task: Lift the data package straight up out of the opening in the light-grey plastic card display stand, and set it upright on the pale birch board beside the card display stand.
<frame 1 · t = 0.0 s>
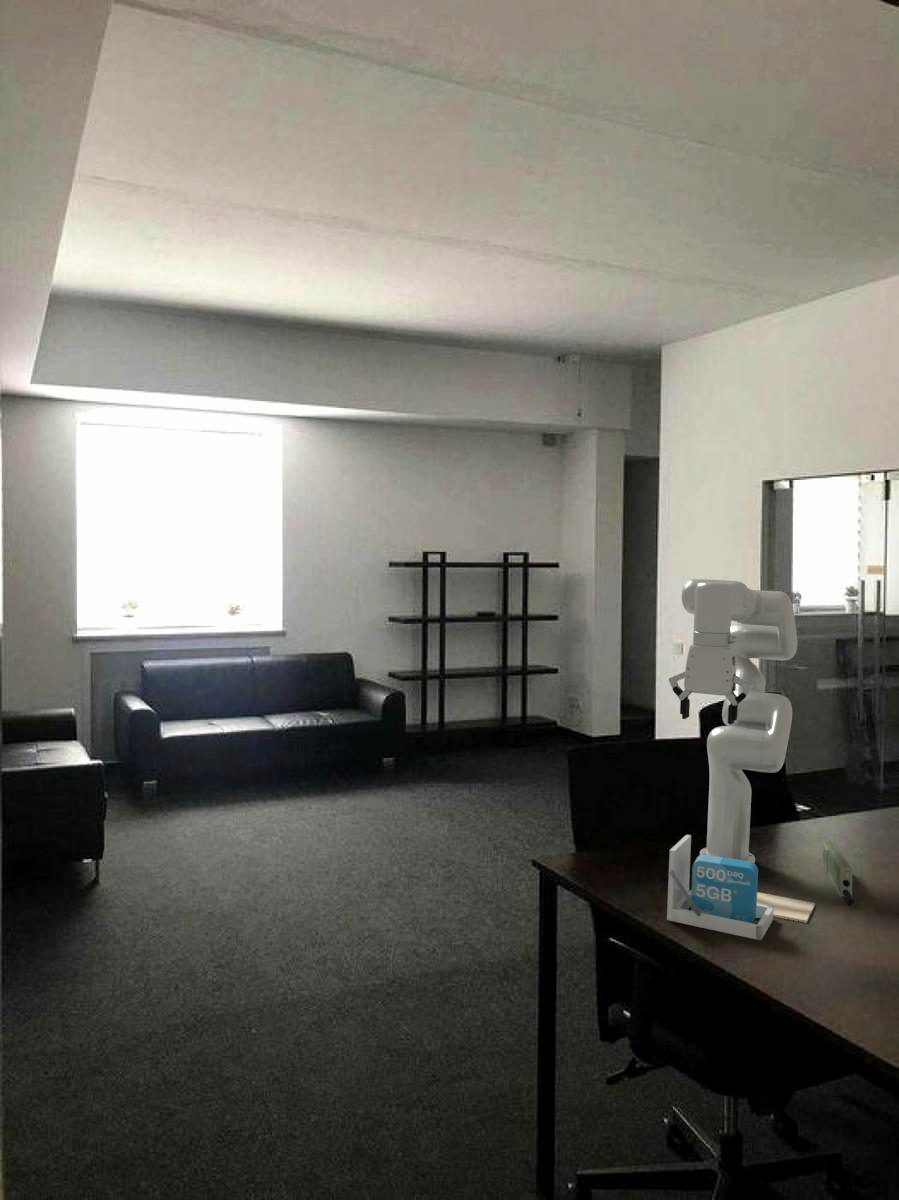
hand: (708, 720, 204), 37 cm above the table, tool pointing down, fingers open, 9 cm apart
card display stand: (722, 920, 190), on the table
birch board: (767, 905, 198), on the table
data package: (722, 921, 190), resting in card display stand
handheld radio: (839, 888, 211), on the table
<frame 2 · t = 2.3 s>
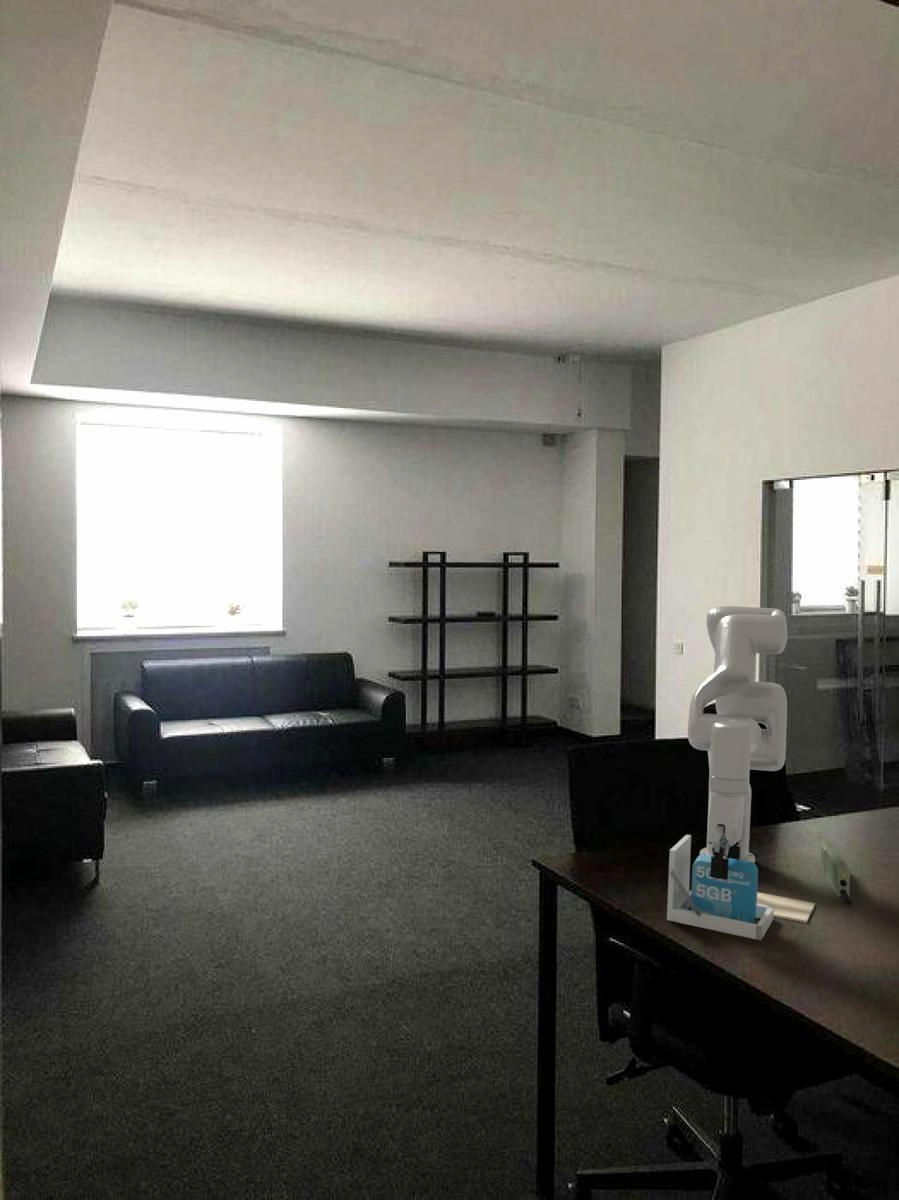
hand: (725, 871, 189), 10 cm above the table, tool pointing down, fingers open, 9 cm apart
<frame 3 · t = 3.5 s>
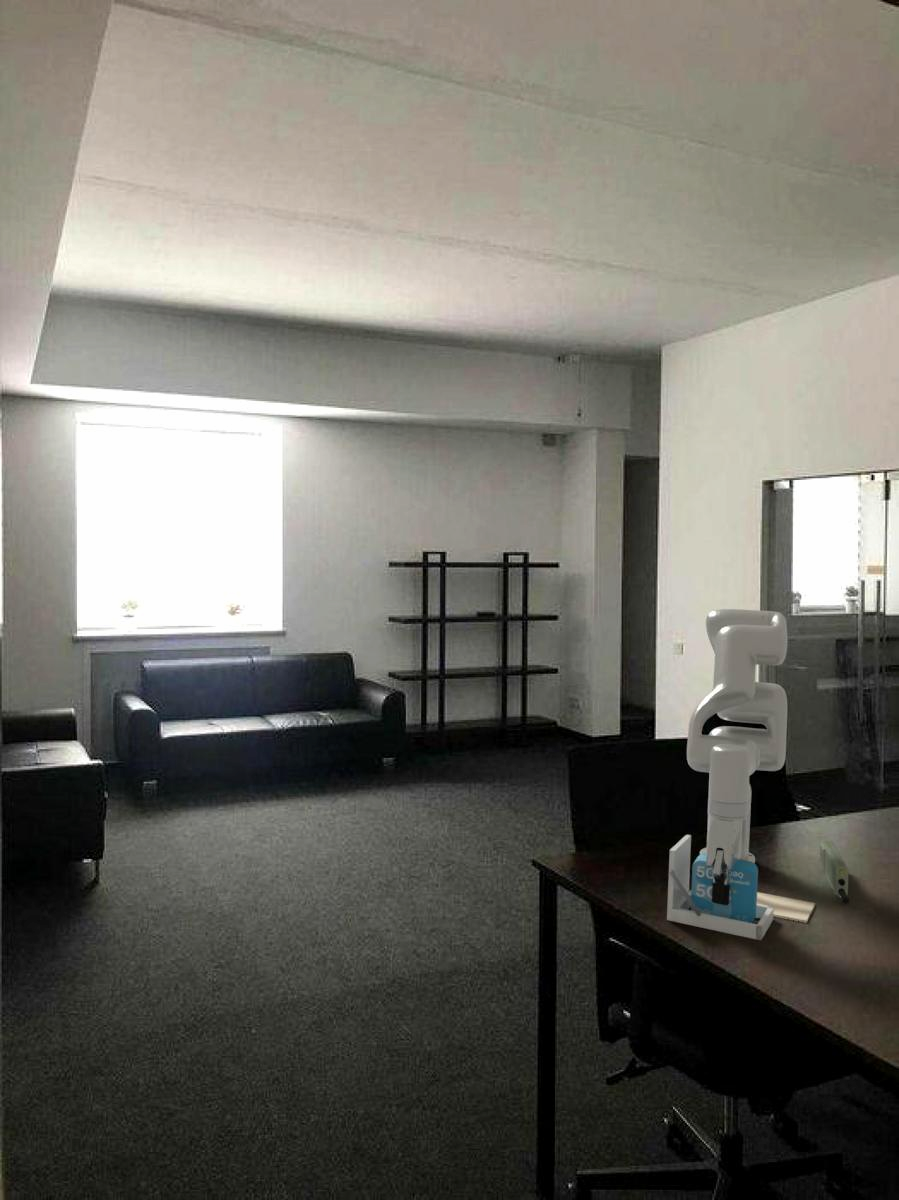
hand: (723, 898, 189), 4 cm above the table, tool pointing down, fingers closed on data package, 4 cm apart
data package: (722, 921, 190), resting in card display stand, touching gripper
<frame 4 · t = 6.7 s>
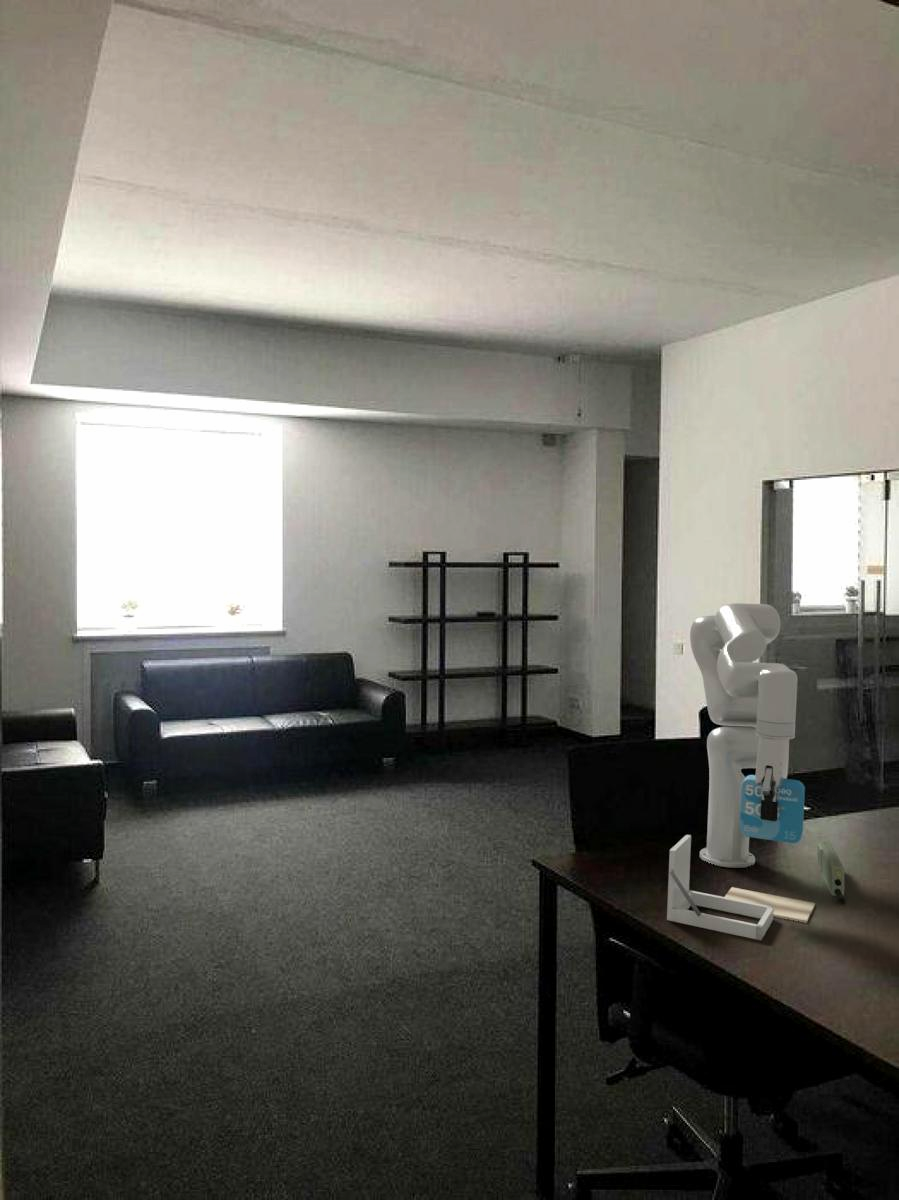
hand: (771, 815, 197), 19 cm above the table, tool pointing down, fingers closed on data package, 4 cm apart
data package: (770, 838, 197), point 14 cm above the table, touching gripper
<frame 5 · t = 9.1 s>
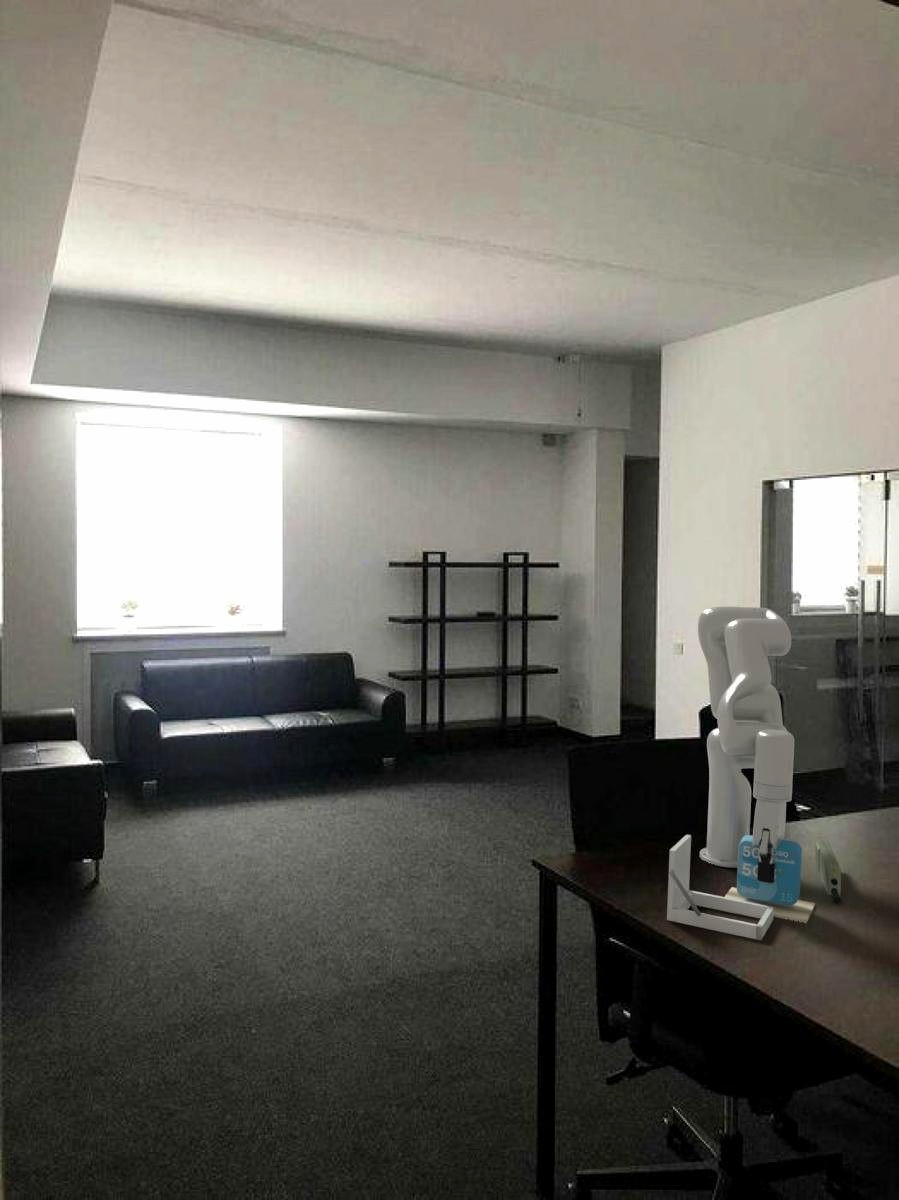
hand: (768, 876, 198), 6 cm above the table, tool pointing down, fingers closed on data package, 4 cm apart
data package: (767, 898, 198), point 1 cm above the table, touching gripper
when the fingers open (6 cm above the table, at t = 9.3 s): data package drops 1 cm, resting on birch board.
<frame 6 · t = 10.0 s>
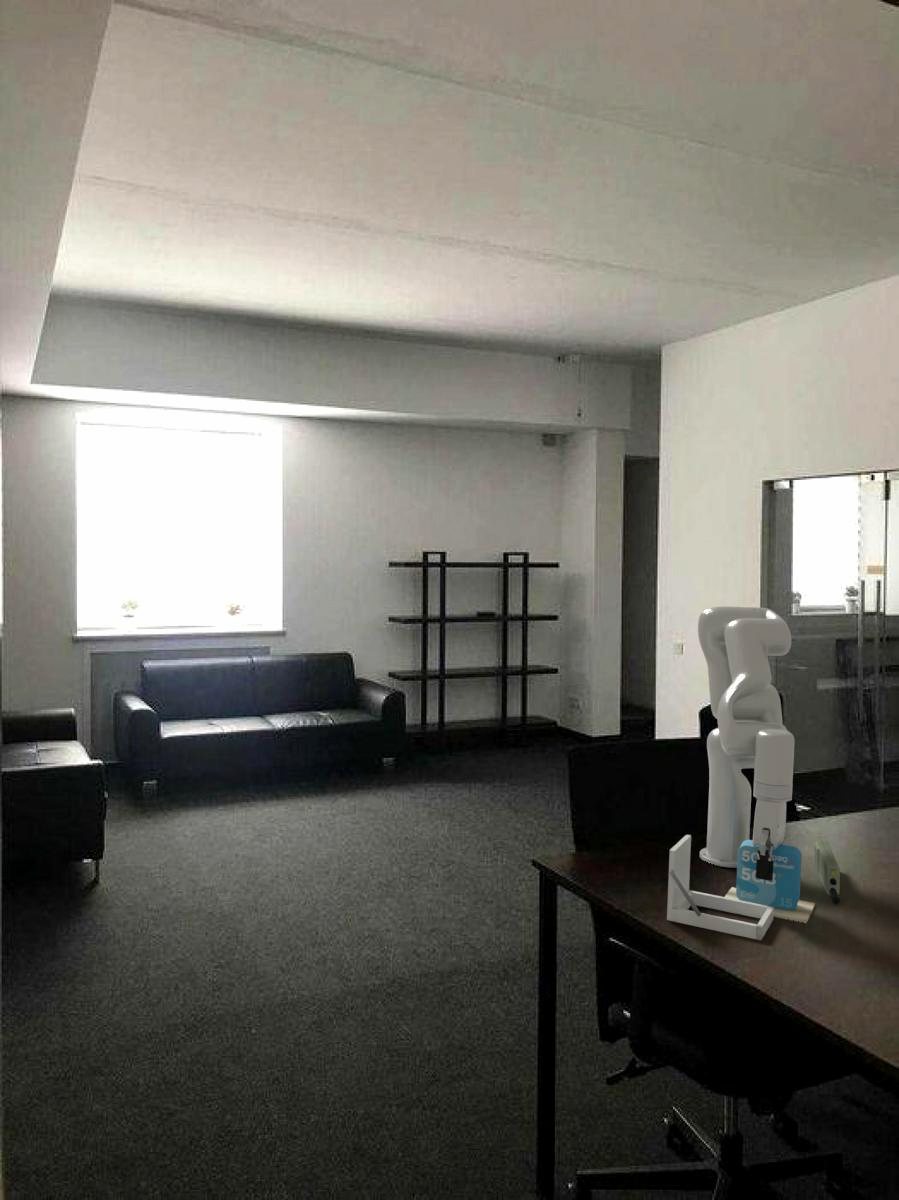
hand: (768, 872, 198), 7 cm above the table, tool pointing down, fingers open, 9 cm apart
data package: (767, 903, 198), resting on birch board
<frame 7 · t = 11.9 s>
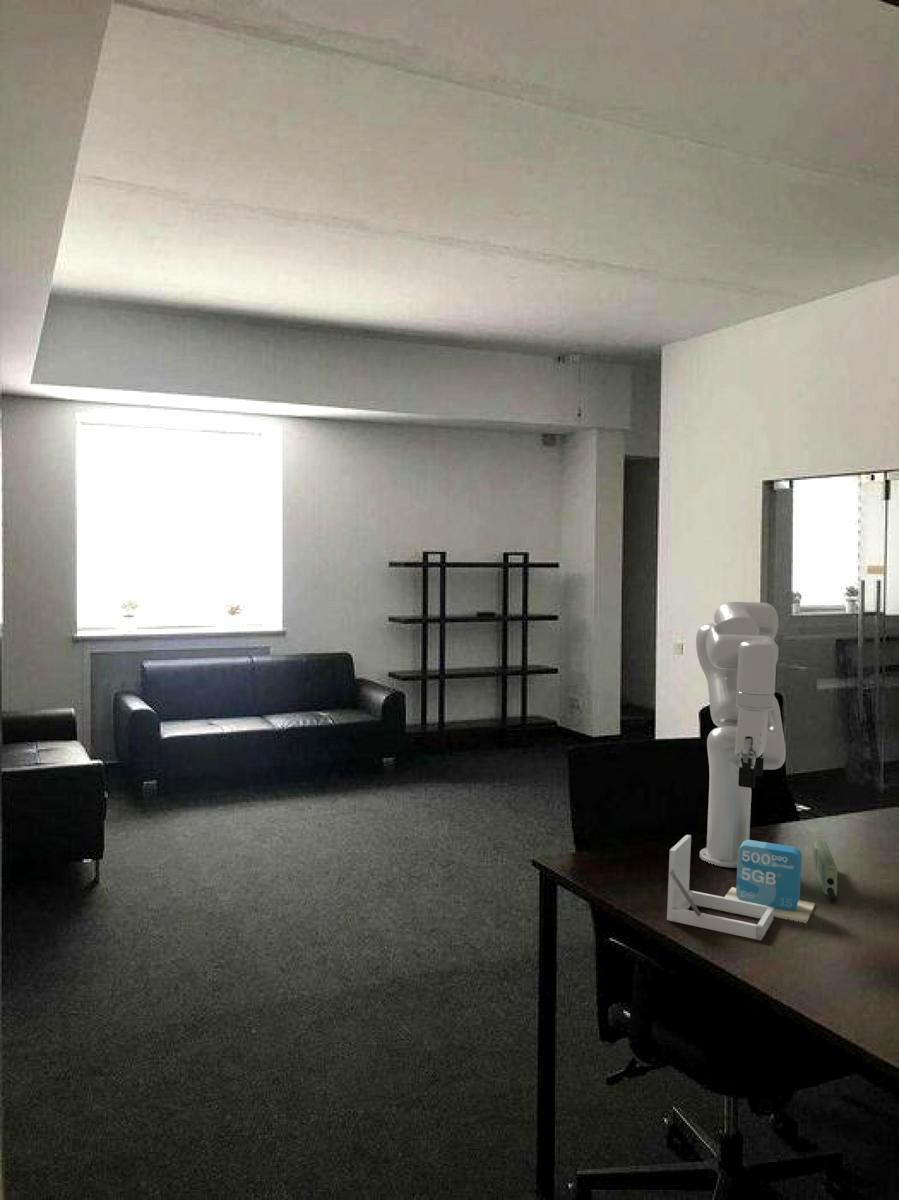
hand: (750, 781, 201), 25 cm above the table, tool pointing down, fingers open, 9 cm apart
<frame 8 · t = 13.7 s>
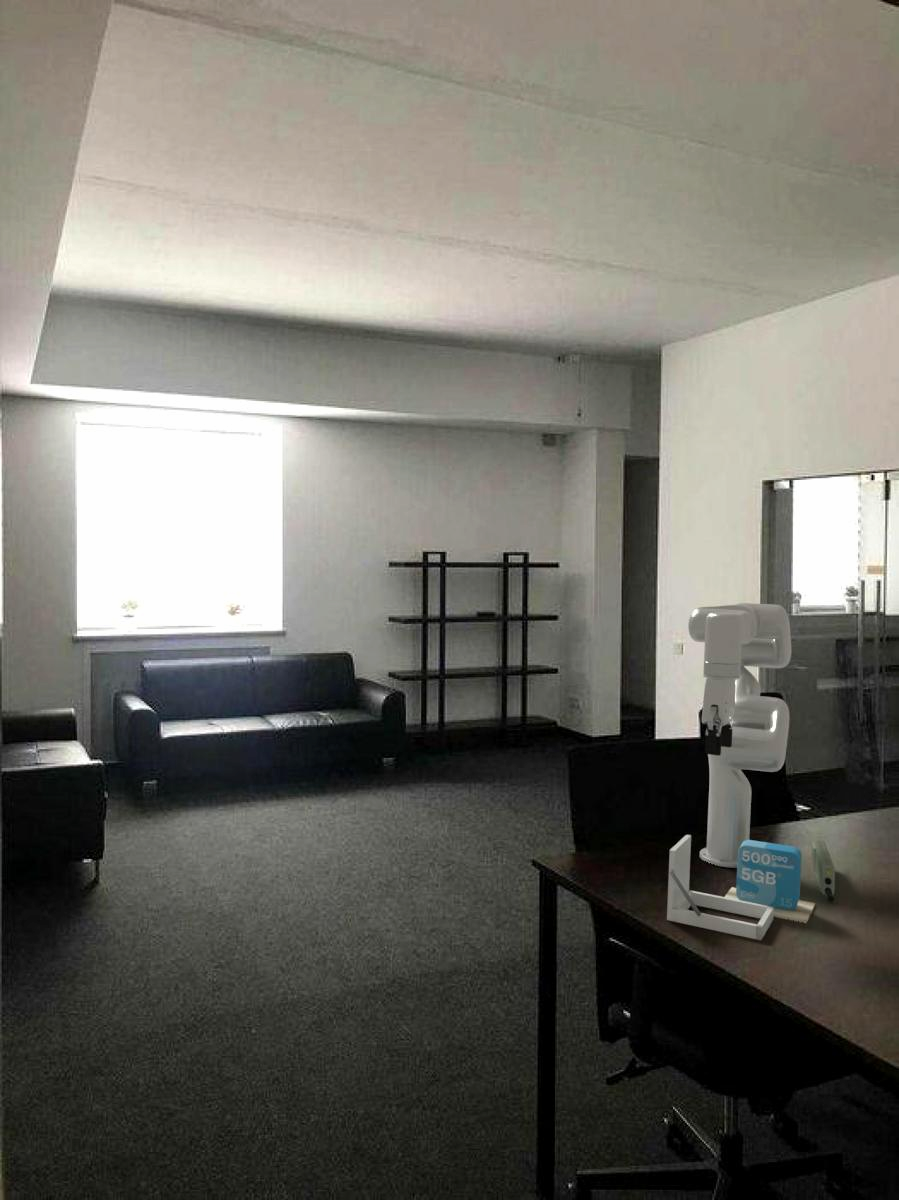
hand: (718, 750, 205), 30 cm above the table, tool pointing down, fingers open, 9 cm apart
at the end: data package inside the target area on the birch board (0.1 cm from its centre), point 0.3 cm above the birch board's base; data package tilted 0°; the gripper is holding nothing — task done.
